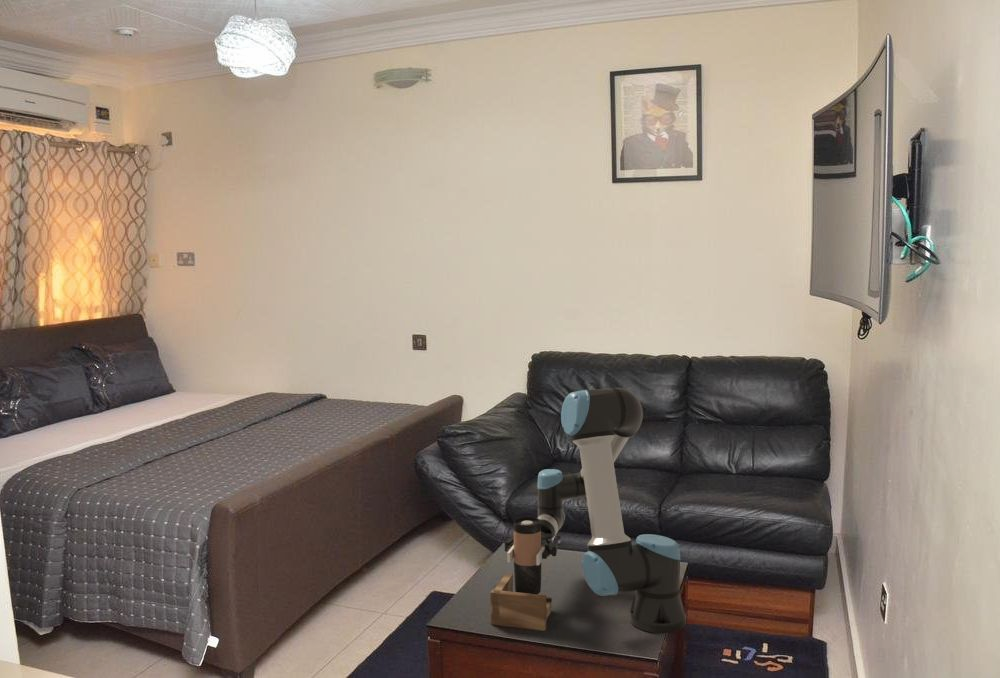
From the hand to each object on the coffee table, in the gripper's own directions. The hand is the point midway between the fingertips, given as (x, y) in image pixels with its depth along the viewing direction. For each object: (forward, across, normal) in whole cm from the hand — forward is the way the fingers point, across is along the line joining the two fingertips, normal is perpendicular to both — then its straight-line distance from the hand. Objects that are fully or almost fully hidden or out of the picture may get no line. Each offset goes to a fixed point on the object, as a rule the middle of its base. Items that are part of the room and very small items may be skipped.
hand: (523, 558), depth 225 cm
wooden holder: (-4, 0, -18) cm, 18 cm away
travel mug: (-5, 0, -11) cm, 12 cm away
